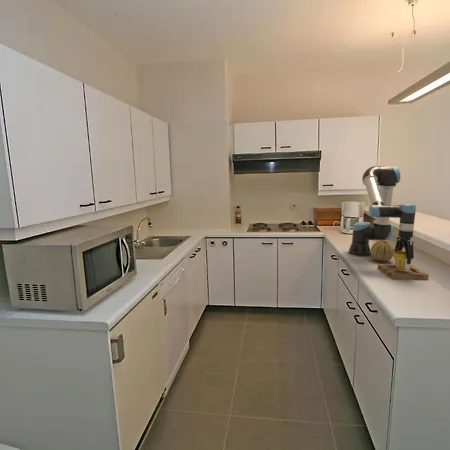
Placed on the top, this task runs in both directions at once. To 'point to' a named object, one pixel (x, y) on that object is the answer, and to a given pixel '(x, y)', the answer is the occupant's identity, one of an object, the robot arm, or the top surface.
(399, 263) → the plant pot
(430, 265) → the top surface
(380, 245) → the cantaloupe
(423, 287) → the top surface
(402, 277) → the walnut tray
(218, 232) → the top surface
